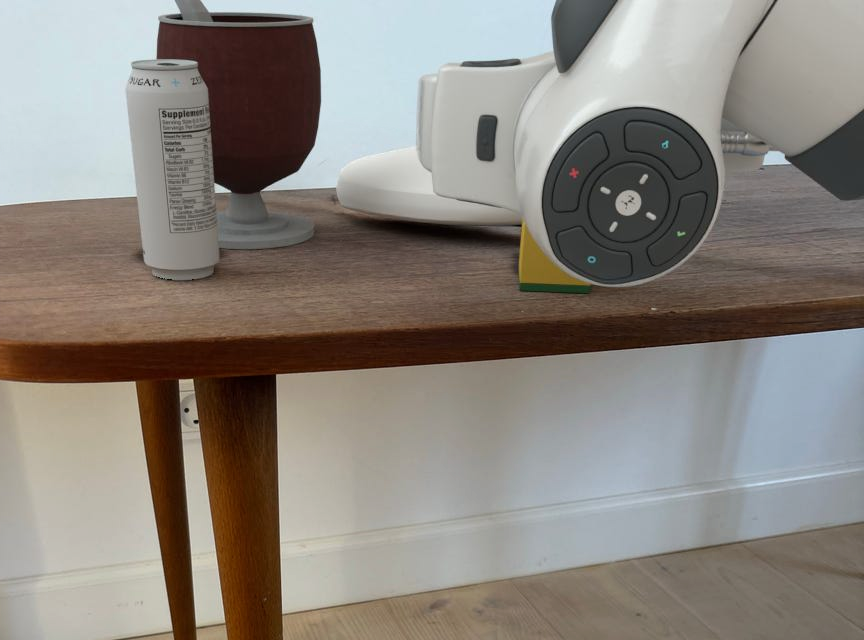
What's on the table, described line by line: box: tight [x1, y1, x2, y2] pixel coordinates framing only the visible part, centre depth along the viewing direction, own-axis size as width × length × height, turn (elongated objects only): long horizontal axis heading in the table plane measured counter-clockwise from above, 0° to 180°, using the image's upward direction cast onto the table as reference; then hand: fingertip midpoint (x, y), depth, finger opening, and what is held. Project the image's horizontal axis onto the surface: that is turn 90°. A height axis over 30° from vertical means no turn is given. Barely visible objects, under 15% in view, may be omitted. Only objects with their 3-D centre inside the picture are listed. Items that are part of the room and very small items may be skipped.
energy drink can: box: [124, 59, 221, 281], centre depth 81 cm, size 6×6×15 cm
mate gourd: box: [156, 0, 322, 250], centre depth 92 cm, size 16×14×20 cm
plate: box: [335, 145, 523, 227], centre depth 103 cm, size 28×6×27 cm
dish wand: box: [517, 219, 592, 294], centre depth 80 cm, size 6×6×16 cm
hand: (581, 104), depth 66 cm, fingers open, 8 cm apart
